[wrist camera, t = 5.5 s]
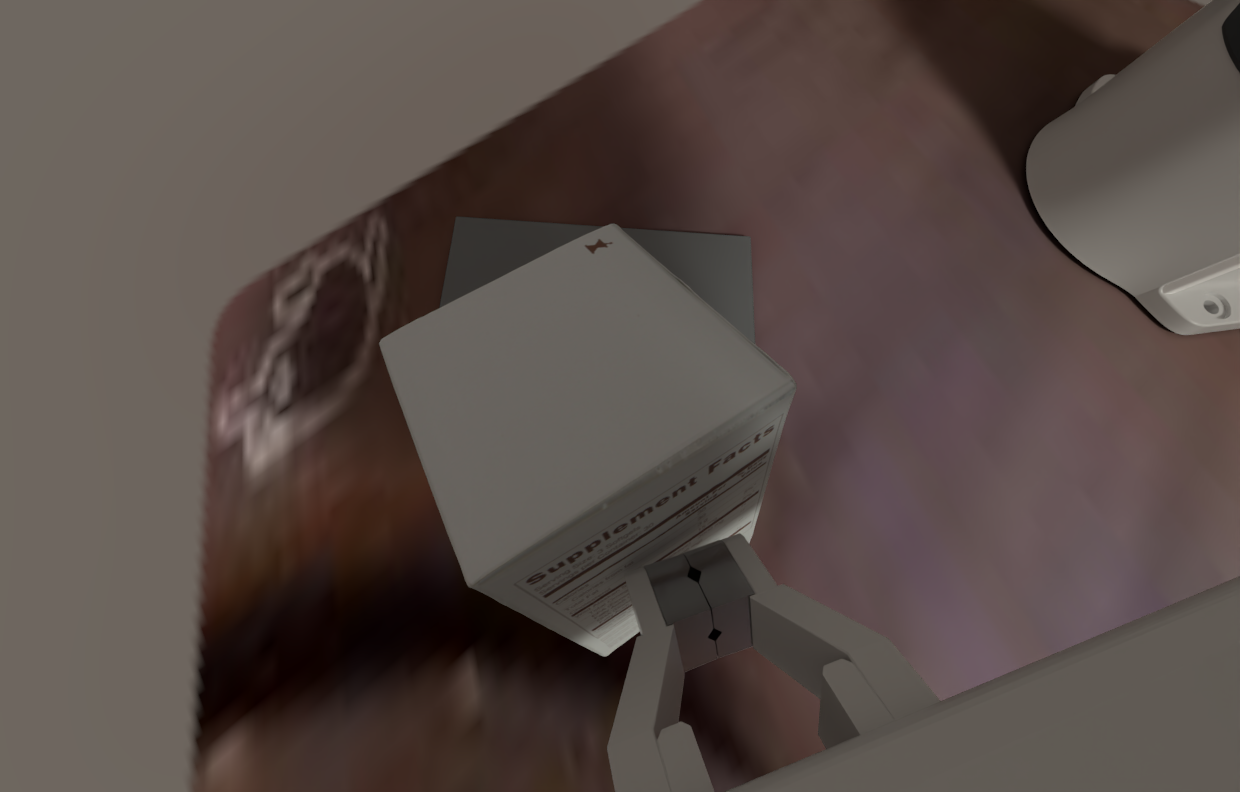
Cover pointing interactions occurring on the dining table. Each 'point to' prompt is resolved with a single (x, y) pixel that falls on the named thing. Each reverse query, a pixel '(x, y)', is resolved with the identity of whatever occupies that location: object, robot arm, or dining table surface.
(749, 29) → the dining table surface
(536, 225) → the mat
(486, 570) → the supplement box
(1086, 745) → the robot arm
